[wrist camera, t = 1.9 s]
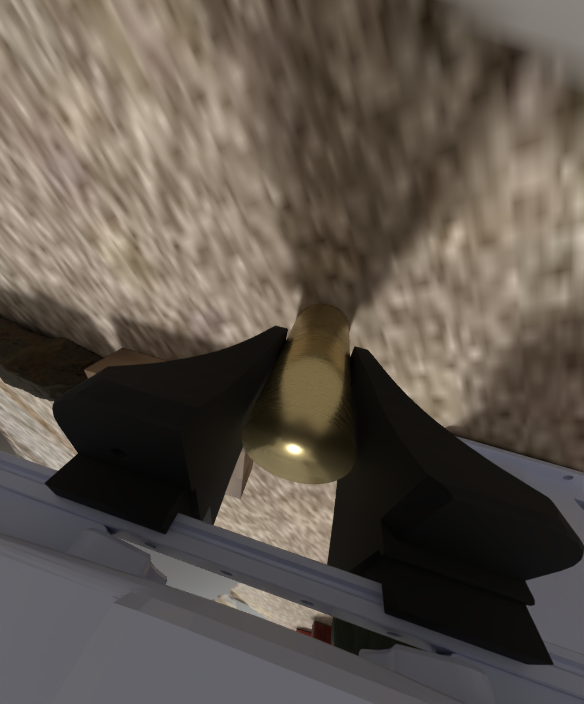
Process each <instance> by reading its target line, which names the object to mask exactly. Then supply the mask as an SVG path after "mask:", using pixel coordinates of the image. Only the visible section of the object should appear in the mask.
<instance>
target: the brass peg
mask: <svg viewBox="0 0 584 704" xmlns="http://www.w3.org/2000/svg"><path fill="white" fill-rule="evenodd" d="M241 440H242V444H243V447H244V449H245V451H246V453H247V454H248V455H249V457H250V458H251V459H252V460H253V461H254V462H255V463H256V464H258V465H259V466H260V467H261V468H263V469H264V470H266V471H268V472H269V473H271V474H273V475H276V476H278V477H280V478H283V479H286V480H289V481H293V482H298V483H304V484H324V483H330V482H333V481H336V480H339V479H341V478H342V477H344V476H345V475H347V474H348V473H349V472H350V470H351V469H352V467H353V465H354V461H355V454H354V432H353V409H352V387H351V365H350V343H349V325H348V321H347V319H346V317H345V316H344V314H343V313H342V312H341V311H340V310H338V309H337V308H335V307H333V306H330V305H326V304H316V305H312V306H309V307H307V308H306V309H304V310H303V311H302V312H301V313H300V314H299V316H298V317H297V319H296V322H295V324H294V326H293V328H292V330H291V332H290V334H289V336H288V338H287V340H286V342H285V344H284V346H283V348H282V350H281V352H280V354H279V356H278V358H277V360H276V362H275V364H274V366H273V368H272V371H271V373H270V375H269V377H268V379H267V381H266V383H265V385H264V387H263V389H262V391H261V393H260V395H259V397H258V399H257V401H256V403H255V405H254V407H253V409H252V411H251V413H250V415H249V417H248V419H247V422H246V424H245V426H244V428H243V430H242V434H241Z"/></svg>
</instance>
